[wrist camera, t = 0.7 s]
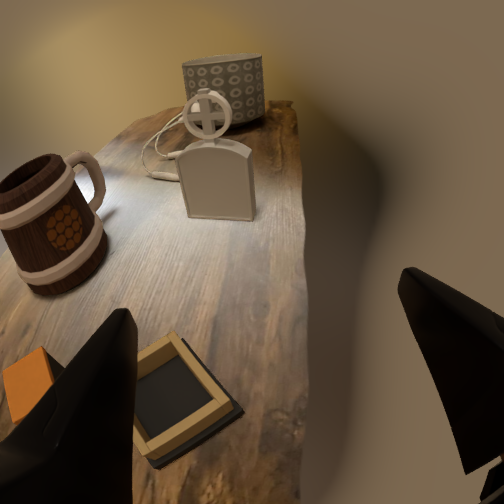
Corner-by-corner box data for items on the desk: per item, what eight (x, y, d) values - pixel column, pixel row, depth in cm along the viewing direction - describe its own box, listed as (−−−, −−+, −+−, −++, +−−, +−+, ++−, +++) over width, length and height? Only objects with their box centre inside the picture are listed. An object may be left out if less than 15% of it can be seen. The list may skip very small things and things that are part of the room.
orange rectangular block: (108, 428, 21) (56, 397, 15) (69, 449, 18) (12, 422, 13) (88, 386, 24) (41, 345, 18) (52, 407, 21) (2, 371, 16)
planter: (184, 140, 65) (172, 68, 53) (199, 117, 79) (191, 58, 66) (266, 134, 64) (261, 58, 51) (265, 111, 78) (261, 52, 65)
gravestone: (194, 206, 44) (172, 90, 32) (256, 209, 42) (246, 84, 30) (188, 217, 42) (162, 96, 30) (252, 221, 40) (241, 89, 28)
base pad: (244, 413, 22) (239, 400, 19) (158, 469, 18) (140, 464, 16) (186, 343, 27) (175, 323, 25) (111, 391, 23) (92, 375, 21)
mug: (65, 315, 30) (0, 217, 20) (14, 283, 34) (-34, 206, 24) (148, 215, 43) (121, 124, 33) (87, 206, 48) (60, 133, 37)
